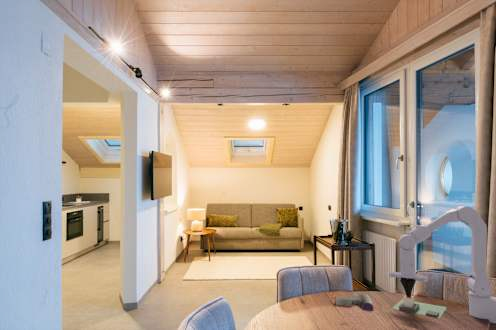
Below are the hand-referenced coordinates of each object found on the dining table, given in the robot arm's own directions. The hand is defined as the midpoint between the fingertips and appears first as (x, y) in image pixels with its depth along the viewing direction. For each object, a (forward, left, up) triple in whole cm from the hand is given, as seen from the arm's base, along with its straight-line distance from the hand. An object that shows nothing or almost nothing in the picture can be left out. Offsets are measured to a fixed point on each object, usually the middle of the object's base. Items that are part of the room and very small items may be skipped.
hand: (408, 296), depth 143 cm
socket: (0, 0, -5) cm, 5 cm away
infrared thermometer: (+20, +9, -6) cm, 23 cm away
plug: (0, 0, -5) cm, 5 cm away
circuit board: (-3, -4, -6) cm, 8 cm away
